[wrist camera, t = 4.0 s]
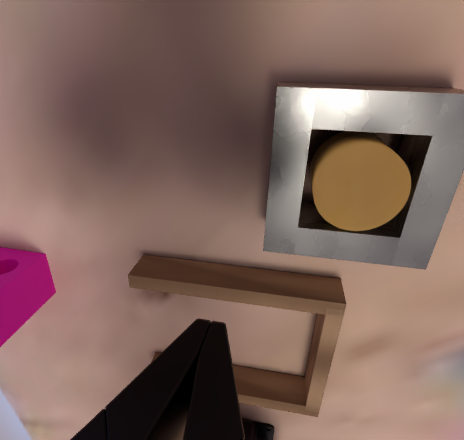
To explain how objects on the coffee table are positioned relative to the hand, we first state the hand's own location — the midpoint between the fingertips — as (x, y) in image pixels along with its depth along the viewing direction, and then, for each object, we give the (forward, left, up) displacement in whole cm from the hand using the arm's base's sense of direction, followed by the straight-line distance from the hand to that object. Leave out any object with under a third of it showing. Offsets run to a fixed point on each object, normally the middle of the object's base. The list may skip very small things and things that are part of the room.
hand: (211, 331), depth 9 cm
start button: (+2, -5, -10) cm, 11 cm away
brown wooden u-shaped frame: (-11, +4, -11) cm, 16 cm away
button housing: (+2, -5, -11) cm, 12 cm away
